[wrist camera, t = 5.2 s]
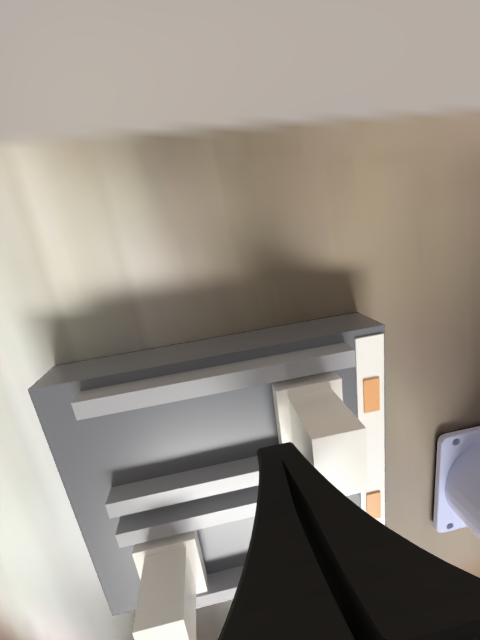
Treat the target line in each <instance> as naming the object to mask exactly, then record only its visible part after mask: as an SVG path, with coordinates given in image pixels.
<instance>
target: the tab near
mask: <svg viewBox="0 0 480 640" xmlns="http://www.w3.org/2000/svg"><path fill="white" fill-rule="evenodd" d="M272 391H273V399H274V407H275V415H276V424H277V432H278V440H279V444H282V443H287V442H291V443H293V444H294V445H295V446H296V448H297V449H298V450H299V451H300V452H301V453H302V454H303V456H304V457H305V458H306V459H307V460H308V461H309V462H310V463H311V464H312V465H313V466H314V467H315V468H316V469H317V470H318V471H319V472H320V473H321V474H322V475H323V476H324V477H325V478H326V479H327V480H328V481H329V482H330V483H331V484H333V485H334V486H335V487H336V488H337V489H338V490H339V491H340V492H342V493H343V494H344V495H345V496H349V495H353V494H357V493H362V492H366V491H368V476H367V437H366V427H365V426H364V425H363V424H362V423H361V422H360V420H359V419H358V418H357V417H356V416H355V415H354V414H353V413H352V411H351V410H350V409H349V408H348V407H347V406H346V405H345V404H344V402H343V393H342V378H341V377H340V376H339V375H338V374H337V373H336V372H334V371H331V372H326V373H321V374H316V375H311V376H306V377H300V378H295V379H290V380H285V381H280V382H275V383H272Z"/></svg>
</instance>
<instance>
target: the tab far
mask: <svg viewBox="0 0 480 640" xmlns="http://www.w3.org/2000/svg"><path fill="white" fill-rule="evenodd" d="M132 556H133V559H134V562H135V565H136V568H137V571H138V575H139V578H140V587H139V593H138V600H137V606H136V612H135V618H134V624H133V630H132V634H133V637H134V640H196V594H198V593H202V592H206V591H207V573H206V569H205V564H204V560H203V556H202V552H201V547H200V543H199V539H198V535H197V530H194V531H190V532H186V533H182V534H177V535H173V536H169V537H164V538H160V539H156V540H152V541H147V542H143V543H139V544H135V545H134V546H133V551H132Z"/></svg>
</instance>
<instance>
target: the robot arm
mask: <svg viewBox="0 0 480 640" xmlns="http://www.w3.org/2000/svg"><path fill="white" fill-rule="evenodd" d="M257 457H258V464H259V485H258V497H257V505H256V512H255V519H254V524H253V530H252V534H251V539H250V543H249V548H248V552H247V555H246V559H245V563H244V567H243V570H242V574H241V577H240V580H239V583H238V586H237V589H236V592H235V595H234V598H233V601H232V604H231V607H230V610H229V613H228V616H227V618H226V621H225V623H224V626H223V628H222V631H221V633H220V636H219V638H218V640H480V578H478V577H476V576H474V575H472V574H470V573H468V572H466V571H464V570H462V569H460V568H458V567H456V566H453V565H451V564H449V563H447V562H445V561H443V560H442V559H440V558H438V557H436V556H434V555H433V554H431V553H429V552H427V551H425V550H423V549H422V548H420V547H418V546H417V545H415V544H413V543H412V542H410V541H408V540H407V539H405V538H404V537H402V536H400V535H399V534H397V533H395V532H394V531H392V530H391V529H389V528H388V527H386V526H385V525H383V524H382V523H380V522H379V521H378V520H376V519H375V518H373V517H372V516H371V515H369V514H368V513H367V512H365V511H364V510H363V509H361V508H360V507H359V506H357V505H356V504H355V503H354V502H352V501H351V500H350V499H349V498H347V497H346V496H345V495H344V494H343V493H342V492H340V491H339V490H338V489H337V488H336V487H335V486H334V485H333V484H331V483H330V482H329V481H328V480H327V479H326V478H325V477H324V476H323V475H322V474H321V473H320V472H319V471H318V470H317V469H316V468H315V467H314V466H313V465H312V464H311V463H310V462H309V461H308V460H307V459H306V458H305V457H304V456H303V454H302V453H301V452H300V451H299V450H298V449H297V448H296V446H295V445H294V444H293V443H291V442H287V443H282V444H277V445H273V446H268V447H263V448H259V449H258V450H257ZM433 526H434V528H435V529H436V530H437V531H438V532H440V533H443V532H447V531H451V530H455V529H459V528H463V527H468V528H469V529H470V530H471V531H472V532H473V533H474V534H475V535H476V536H477V537H478V538H479V539H480V426H477V427H473V428H468V429H464V430H459V431H454V432H450V433H445V434H443V435H441V436H440V437H439V438H438V442H437V461H436V480H435V499H434V518H433Z"/></svg>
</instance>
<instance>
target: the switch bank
mask: <svg viewBox="0 0 480 640" xmlns="http://www.w3.org/2000/svg"><path fill="white" fill-rule="evenodd" d="M331 371H334V372H336V373H337V374H338V375H339V376H340V377H341V378H342V393H343V402H344V404H345V405H346V406H347V407H348V408H349V409H350V410H351V411H352V413H353V414H354V415H355V416H356V417H357V418H358V419H359V420H360V422H361V423H362V424H363V425H364V426H365V427H366V437H367V476H368V491H366V492H362V493H357V494H353V495H349V496H346V497H347V498H349V499H350V500H351V501H352V502H354V503H355V504H356V505H357V506H359V507H360V508H361V509H363V510H364V511H365V512H367V513H368V514H369V515H371V516H372V517H373V518H375V519H376V520H378V521H379V522H380V523H382V524H383V525H385V526H386V516H385V325H384V324H382V323H379V322H377V321H375V320H373V319H371V318H369V317H367V316H364V315H362V314H360V313H358V312H356V313H351V314H345V315H339V316H334V317H328V318H322V319H317V320H311V321H305V322H300V323H294V324H288V325H283V326H277V327H271V328H266V329H260V330H254V331H249V332H243V333H237V334H232V335H226V336H220V337H215V338H209V339H203V340H198V341H192V342H186V343H181V344H175V345H169V346H164V347H158V348H152V349H147V350H141V351H135V352H130V353H124V354H118V355H113V356H107V357H101V358H96V359H90V360H84V361H79V362H73V363H67V364H62V365H56V366H54V367H53V368H52V369H50V370H49V371H48V372H47V373H46V374H45V375H44V376H43V377H42V378H40V379H39V380H38V381H37V382H36V383H35V384H34V385H33V386H32V387H30V388H29V389H28V392H29V394H30V397H31V400H32V402H33V405H34V408H35V410H36V413H37V416H38V418H39V421H40V424H41V426H42V429H43V432H44V434H45V437H46V440H47V442H48V445H49V448H50V450H51V453H52V456H53V458H54V461H55V464H56V466H57V469H58V472H59V474H60V477H61V480H62V482H63V485H64V488H65V490H66V493H67V496H68V498H69V501H70V504H71V506H72V509H73V512H74V514H75V517H76V519H77V522H78V525H79V527H80V530H81V533H82V535H83V538H84V541H85V543H86V546H87V549H88V551H89V554H90V557H91V559H92V562H93V565H94V567H95V570H96V573H97V575H98V578H99V581H100V583H101V586H102V589H103V591H104V594H105V597H106V599H107V602H108V605H109V607H110V610H111V613H112V615H113V616H114V615H118V614H122V613H126V612H130V611H134V610H136V606H137V600H138V593H139V587H140V578H139V575H138V571H137V568H136V565H135V562H134V559H133V556H132V551H133V546H134V545H135V544H139V543H143V542H147V541H152V540H156V539H160V538H164V537H169V536H173V535H177V534H182V533H186V532H190V531H194V530H197V535H198V539H199V543H200V547H201V552H202V556H203V560H204V564H205V569H206V573H207V591H206V592H202V593H198V594H196V609H198V608H201V607H205V606H209V605H213V604H217V603H221V602H225V601H229V600H232V599H233V598H234V595H235V592H236V589H237V586H238V583H239V580H240V577H241V574H242V570H243V567H244V563H245V559H246V555H247V552H248V548H249V543H250V539H251V534H252V530H253V524H254V519H255V512H256V505H257V497H258V485H259V464H258V457H257V450H258V449H259V448H263V447H268V446H273V445H277V444H279V440H278V432H277V424H276V415H275V407H274V399H273V391H272V383H275V382H280V381H285V380H290V379H295V378H300V377H306V376H311V375H316V374H321V373H326V372H331Z"/></svg>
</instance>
